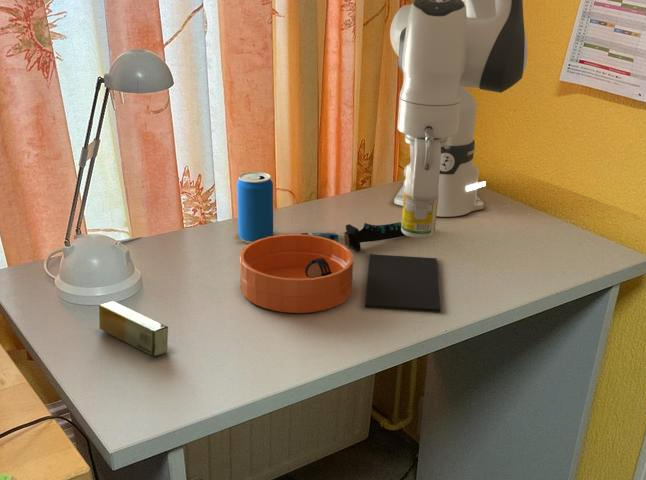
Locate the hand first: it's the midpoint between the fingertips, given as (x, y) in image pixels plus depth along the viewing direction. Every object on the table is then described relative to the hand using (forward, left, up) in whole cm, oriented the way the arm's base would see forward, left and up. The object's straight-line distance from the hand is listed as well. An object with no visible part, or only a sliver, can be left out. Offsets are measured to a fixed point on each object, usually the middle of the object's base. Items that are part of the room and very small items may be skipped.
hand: (419, 209), depth 123 cm
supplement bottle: (0, 0, -4) cm, 4 cm away
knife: (-20, -8, -15) cm, 26 cm away
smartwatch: (0, -15, -15) cm, 21 cm away
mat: (-5, -1, -15) cm, 16 cm away
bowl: (0, -19, -15) cm, 24 cm away
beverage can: (-20, -29, -15) cm, 38 cm away
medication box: (+20, -40, -15) cm, 47 cm away
